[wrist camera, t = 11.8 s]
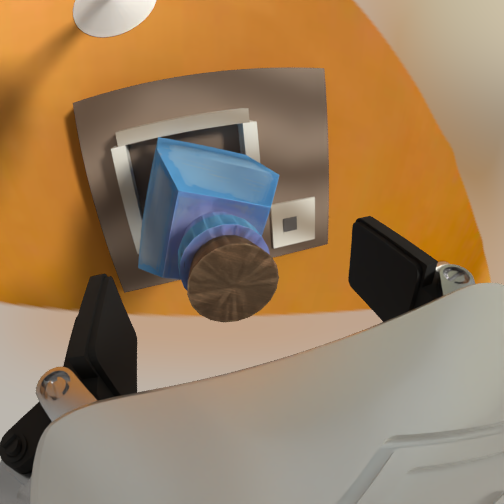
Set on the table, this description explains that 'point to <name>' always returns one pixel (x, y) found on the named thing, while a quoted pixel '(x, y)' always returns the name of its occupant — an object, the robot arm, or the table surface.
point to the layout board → (212, 135)
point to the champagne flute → (110, 15)
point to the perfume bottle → (210, 227)
